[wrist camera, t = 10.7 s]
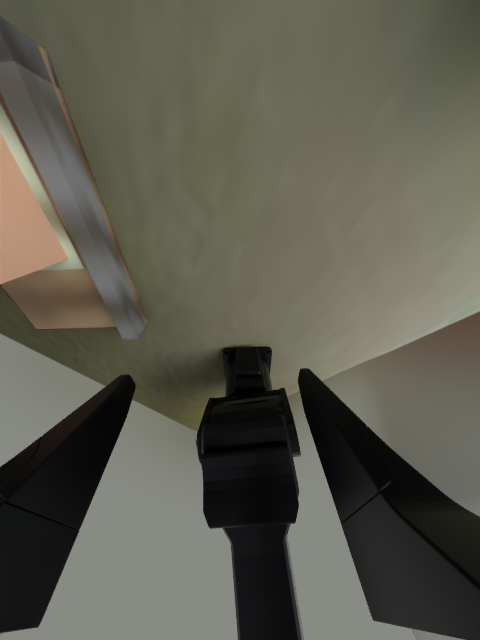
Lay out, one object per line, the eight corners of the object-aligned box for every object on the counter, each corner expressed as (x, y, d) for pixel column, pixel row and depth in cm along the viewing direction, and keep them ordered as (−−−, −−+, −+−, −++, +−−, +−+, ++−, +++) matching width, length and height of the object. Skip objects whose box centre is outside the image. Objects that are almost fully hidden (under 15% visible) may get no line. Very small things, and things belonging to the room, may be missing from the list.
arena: (147, 323, 22) (136, 338, 20) (40, 326, 22) (16, 342, 20) (46, 51, 11) (-9, 9, 9) (-167, 58, 11) (-283, 19, 9)
